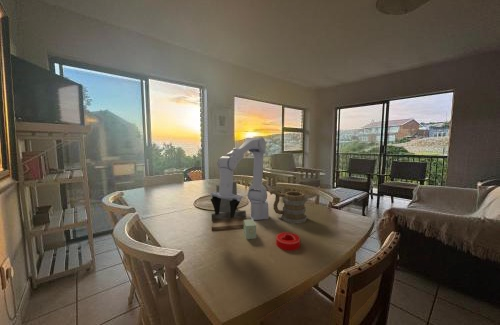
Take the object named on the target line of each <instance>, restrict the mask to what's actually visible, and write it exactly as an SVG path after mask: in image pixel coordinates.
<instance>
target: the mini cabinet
mask: <svg viewBox="0 0 500 325" xmlns="http://www.w3.org/2000/svg"><path fill="white" fill-rule="evenodd" d="M243 234H244V237H245V240H252V239H257V224H256V222H255V220H253V219H251V218H250V219H247V220H244V227H243Z"/></svg>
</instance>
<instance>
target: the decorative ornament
mask: <svg viewBox="0 0 500 325" xmlns="http://www.w3.org/2000/svg"><path fill="white" fill-rule="evenodd" d="M275 243H276V244H275V245H276V246H277V247H278V249H281V250H284V251H296V250H298V249H300V247H301V238H300V236H299V235H298V234H296V233H293V232H285V231H284V232H280V233H277V235H276V238H275Z"/></svg>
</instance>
